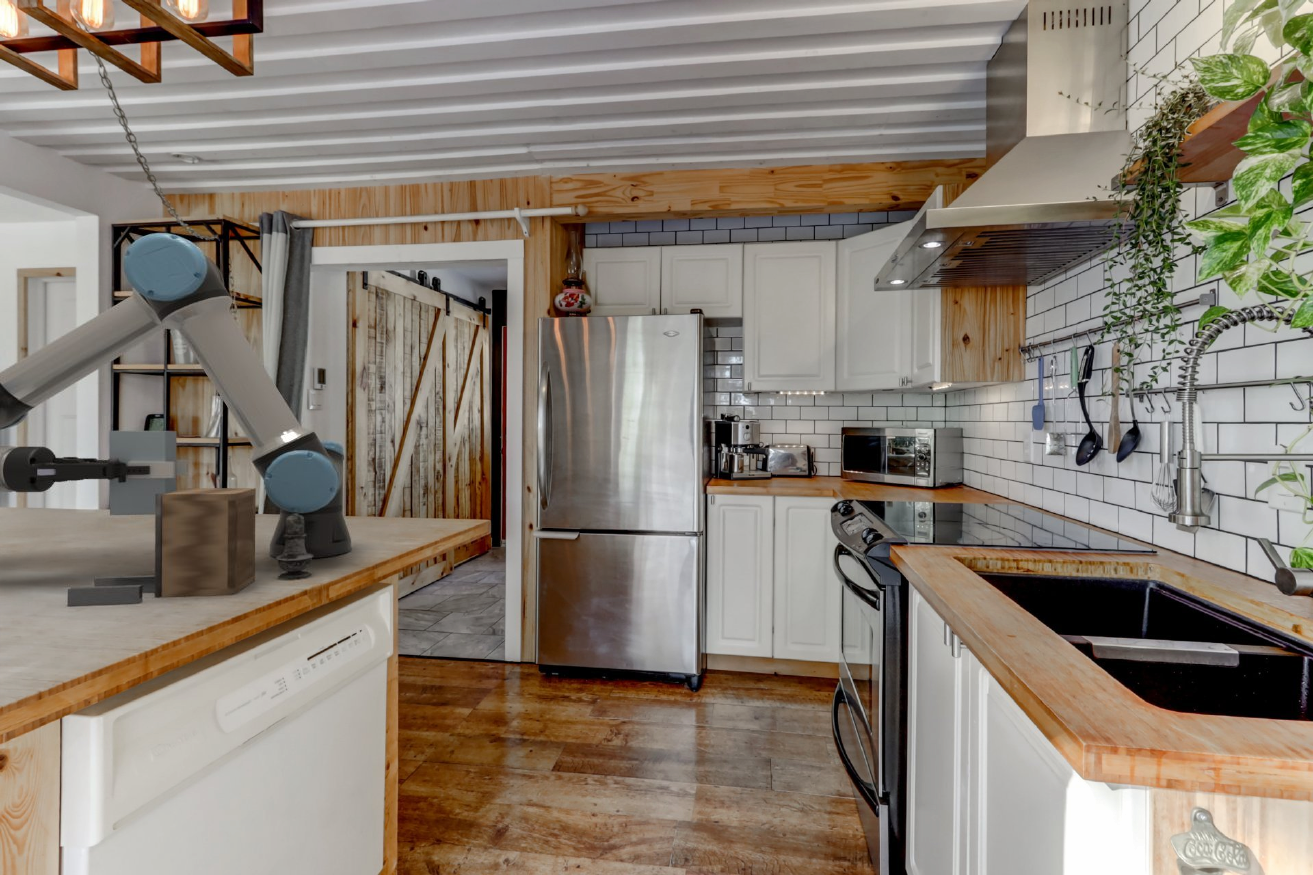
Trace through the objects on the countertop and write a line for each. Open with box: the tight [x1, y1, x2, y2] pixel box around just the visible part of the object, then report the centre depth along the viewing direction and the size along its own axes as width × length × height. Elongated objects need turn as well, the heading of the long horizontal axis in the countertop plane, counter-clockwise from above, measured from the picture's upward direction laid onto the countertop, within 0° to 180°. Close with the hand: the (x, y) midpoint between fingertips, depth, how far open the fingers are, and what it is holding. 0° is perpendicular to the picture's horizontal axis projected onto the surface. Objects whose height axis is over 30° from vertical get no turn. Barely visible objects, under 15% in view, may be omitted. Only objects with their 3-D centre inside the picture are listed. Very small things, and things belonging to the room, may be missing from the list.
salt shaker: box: [275, 509, 314, 581], centre depth 115 cm, size 6×6×12 cm
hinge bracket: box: [66, 574, 155, 607], centre depth 99 cm, size 9×8×2 cm
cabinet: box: [154, 487, 257, 598], centre depth 106 cm, size 11×9×16 cm
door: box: [107, 430, 178, 516], centre depth 110 cm, size 8×5×14 cm, turn 104°
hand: (180, 468), depth 111 cm, fingers closed on door, 4 cm apart
